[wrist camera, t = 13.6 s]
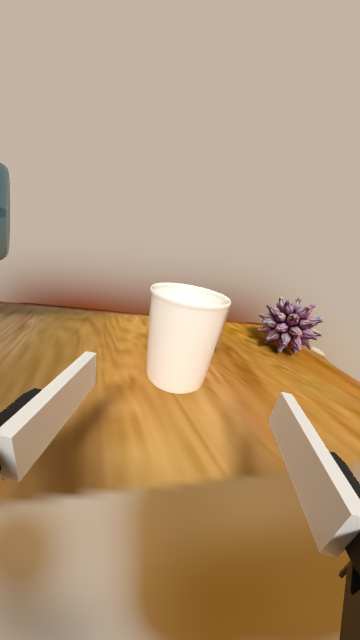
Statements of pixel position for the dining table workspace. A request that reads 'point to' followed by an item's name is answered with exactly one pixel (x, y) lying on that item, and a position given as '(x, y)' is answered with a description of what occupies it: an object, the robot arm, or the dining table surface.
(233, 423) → the dining table surface
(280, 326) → the flower
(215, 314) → the white cream cup
